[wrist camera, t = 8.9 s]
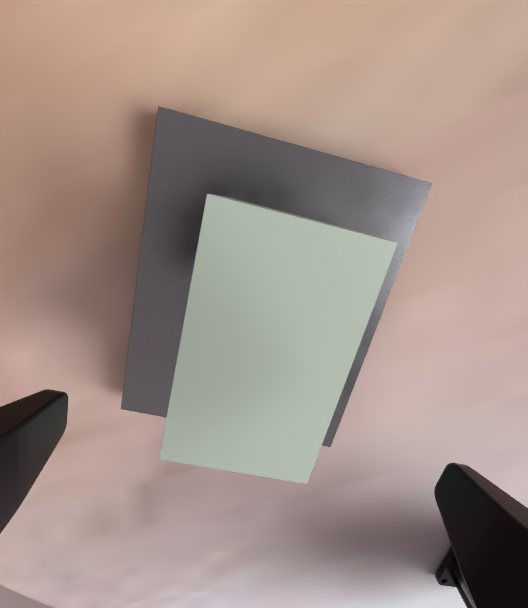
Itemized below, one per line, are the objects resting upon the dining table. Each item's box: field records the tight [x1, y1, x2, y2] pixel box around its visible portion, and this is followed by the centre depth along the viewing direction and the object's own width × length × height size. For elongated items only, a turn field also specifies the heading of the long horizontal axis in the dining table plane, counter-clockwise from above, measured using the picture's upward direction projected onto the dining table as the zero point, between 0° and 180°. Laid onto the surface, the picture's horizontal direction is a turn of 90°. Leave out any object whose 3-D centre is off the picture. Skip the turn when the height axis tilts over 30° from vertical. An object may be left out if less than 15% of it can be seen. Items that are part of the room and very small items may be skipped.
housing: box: [159, 194, 398, 484], centre depth 14 cm, size 10×6×6 cm, turn 166°
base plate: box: [121, 106, 432, 447], centre depth 16 cm, size 16×13×4 cm
